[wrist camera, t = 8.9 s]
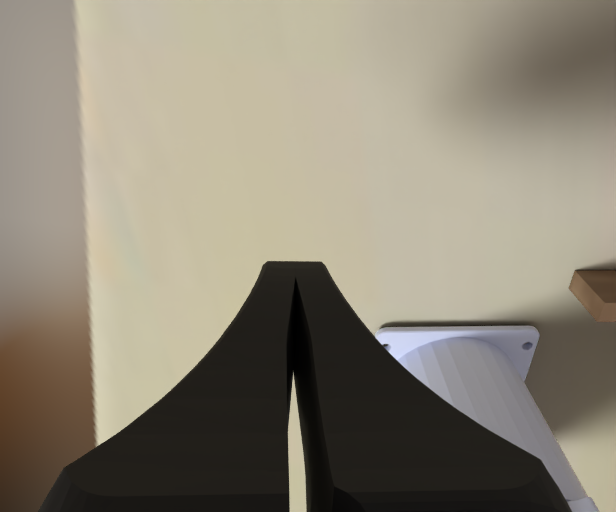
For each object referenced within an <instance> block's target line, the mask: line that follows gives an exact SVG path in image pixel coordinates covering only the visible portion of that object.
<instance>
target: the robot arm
mask: <svg viewBox="0 0 616 512" xmlns="http://www.w3.org/2000/svg"><path fill="white" fill-rule="evenodd" d="M539 336H540V334H539V332H538V331H537V329H536V328H535V327H533V326H450V327H385V328H381V329H379V330H378V331H377V332H376V334H375V336H374V335H373V334H372V333H371V332H370V331H369V329H368V328H367V327H366V326H365V325H364V323H363V322H362V321H361V320H360V318H359V317H358V316H357V314H356V313H355V312H354V310H353V309H352V308H351V306H350V305H349V303H348V302H347V301H346V299H345V298H344V296H343V295H342V293H341V292H340V290H339V289H338V287H337V286H336V284H335V282H334V281H333V279H332V277H331V275H330V274H329V272H328V270H327V268H326V266H325V265H324V264H323V263H322V262H299V261H267V262H266V263H265V264H264V265H263V266H262V269H261V272H260V275H259V277H258V279H257V281H256V283H255V285H254V287H253V289H252V291H251V293H250V294H249V296H248V298H247V299H246V301H245V303H244V304H243V306H242V307H241V309H240V311H239V312H238V314H237V315H236V317H235V318H234V320H233V321H232V322H231V324H230V325H229V326H228V328H227V329H226V331H225V332H224V333H223V335H222V336H221V337H220V339H219V340H218V341H217V342H216V344H215V345H214V346H213V347H212V348H211V350H210V351H209V352H208V353H207V354H206V355H205V356H204V358H203V359H202V360H201V361H200V362H199V363H198V364H197V365H196V366H195V367H194V368H193V369H192V370H191V371H190V372H189V373H188V374H187V375H186V376H185V377H184V378H183V379H182V380H181V381H180V382H179V383H178V384H177V385H176V386H175V387H174V388H173V389H172V390H171V391H170V392H168V393H167V394H166V395H165V396H164V397H163V398H162V399H161V400H159V401H158V402H157V403H156V404H154V405H153V406H152V407H151V408H149V409H148V410H147V411H146V412H144V413H143V414H142V415H141V416H139V417H138V418H137V419H136V420H134V421H133V422H132V423H131V424H129V425H128V426H127V427H125V428H124V429H123V430H121V431H120V432H119V433H117V434H116V435H114V436H113V437H111V438H110V439H108V440H107V441H105V442H104V443H102V444H100V445H99V446H97V447H96V448H94V449H93V450H91V451H90V452H88V453H87V454H85V455H84V456H82V457H81V458H79V459H77V460H76V461H74V462H73V463H71V464H69V465H68V466H66V467H65V468H64V469H63V470H62V472H61V474H60V475H59V477H58V478H57V480H56V482H55V483H54V485H53V487H52V488H51V490H50V492H49V494H48V495H47V497H46V499H45V500H44V502H43V504H42V506H41V507H40V509H39V511H38V512H289V466H288V423H289V412H290V401H291V390H292V379H293V371H294V380H295V388H296V396H297V404H298V412H299V420H300V428H301V436H302V444H303V452H304V462H305V474H306V504H307V512H599V510H598V508H597V506H596V505H595V503H594V501H593V499H592V498H591V497H588V495H587V494H586V492H585V490H584V488H583V487H582V485H581V483H580V481H579V479H578V478H577V476H576V474H575V472H574V470H573V469H572V467H571V465H570V463H569V462H568V460H567V458H566V456H565V454H564V453H563V451H562V449H561V447H560V445H559V444H558V442H557V440H556V438H555V437H554V435H553V433H552V431H551V429H550V428H549V426H548V424H547V422H546V421H545V419H544V417H543V415H542V413H541V412H540V410H539V408H538V406H537V404H536V403H535V401H534V399H533V397H532V396H531V394H530V392H529V390H528V388H527V387H526V385H525V383H524V382H525V379H526V376H527V373H528V370H529V367H530V364H531V361H532V358H533V355H534V352H535V349H536V346H537V343H538V340H539ZM526 342H528V343H527V344H524V343H526ZM383 344H389V345H387V346H385V347H384V346H383ZM523 344H524V345H523Z"/></svg>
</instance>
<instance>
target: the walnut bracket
mask: <svg viewBox="0 0 616 512" xmlns="http://www.w3.org/2000/svg"><path fill="white" fill-rule="evenodd" d="M569 289H570V291H571V292H572V293H573V294H574V295H575V296H576V298H577V299H578V300H579V301H580V302H581V303H582V305H583V306H584V307H585V308H586V309H587V310H588V312H589V313H590V314H591V315H592V316H593V318H594V319H595V320H596V321H597V322H616V270H591V271H575V272H574V275H573V278H572V281H571V283H570V286H569Z"/></svg>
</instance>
